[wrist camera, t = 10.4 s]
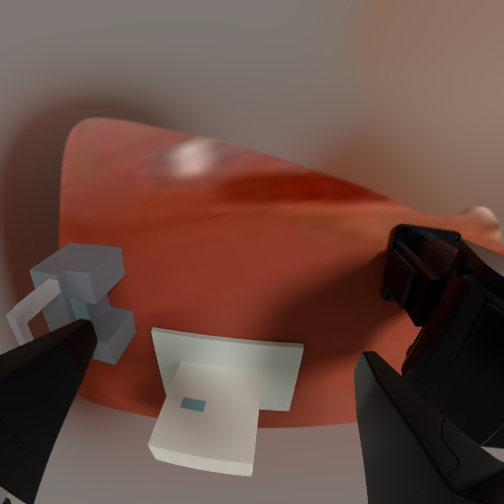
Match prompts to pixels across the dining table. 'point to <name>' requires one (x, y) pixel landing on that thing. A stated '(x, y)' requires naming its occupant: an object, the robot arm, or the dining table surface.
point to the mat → (233, 361)
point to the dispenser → (78, 297)
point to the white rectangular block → (209, 419)
